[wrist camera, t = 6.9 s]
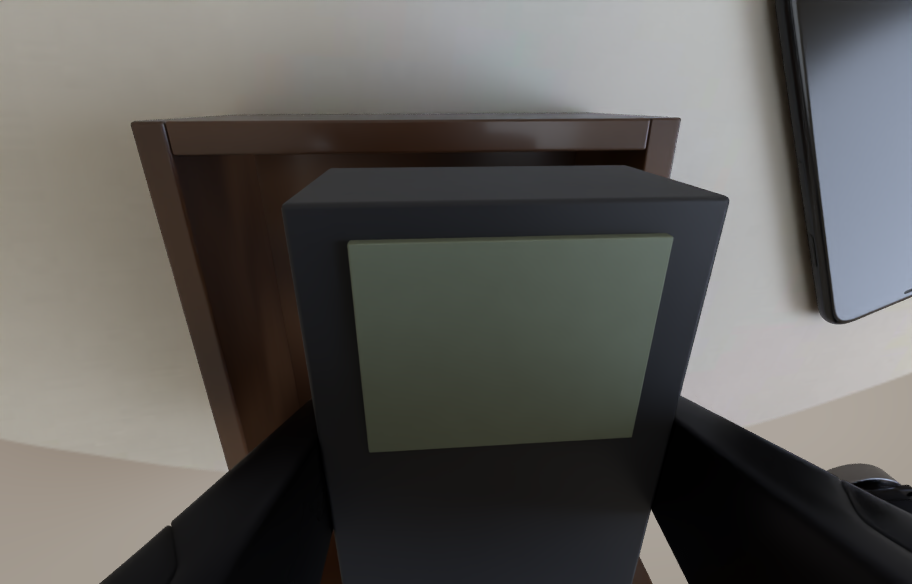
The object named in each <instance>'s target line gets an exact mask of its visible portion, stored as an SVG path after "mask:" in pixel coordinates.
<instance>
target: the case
mask: <svg viewBox="0 0 912 584" xmlns="http://www.w3.org/2000/svg"><path fill="white" fill-rule="evenodd" d="M680 121H681V119H680V118H676V117H658V116H640V115H622V114H604V113H466V114H277V115H222V116H206V117H190V118H174V119H158V120H142V121H134V122H132V123H131V128H132V131H133V135H134V138H135V142H136V145H137V149H138V152H139V156H140V159H141V163H142V166H143V170H144V173H145V177H146V180H147V184H148V187H149V191H150V195H151V198H152V202H153V205H154V209H155V212H156V216H157V219H158V223H159V226H160V230H161V233H162V237H163V240H164V244H165V247H166V251H167V254H168V258H169V262H170V265H171V269H172V272H173V276H174V279H175V283H176V286H177V290H178V293H179V297H180V300H181V304H182V307H183V311H184V314H185V318H186V321H187V325H188V328H189V332H190V336H191V339H192V343H193V346H194V350H195V353H196V357H197V360H198V364H199V367H200V371H201V374H202V378H203V381H204V385H205V388H206V392H207V395H208V399H209V402H210V406H211V410H212V413H213V417H214V420H215V424H216V427H217V431H218V434H219V438H220V441H221V445H222V448H223V452H224V455H225V459H226V462H227V466H228V469H229V470H231V469H232V468H233V467H234V466H235V465H236V464H237V463H239V462H240V461H241V460H242V459H243V458H244V457H245V456H246V455H248V454H249V453H250V452H251V451H252V450H253V449H254V448H255V447H257V446H258V445H259V444H260V443H261V442H262V441H263V440H265V439H266V438H267V437H268V436H269V435H270V434H271V433H272V432H274V431H275V430H276V429H277V428H278V427H279V426H280V425H282V424H283V423H284V422H285V421H286V420H287V419H288V418H289V417H291V416H292V415H293V414H294V413H295V412H296V411H297V410H298V409H300V408H301V407H302V406H303V405H304V404H305V403H306V402H308V401H309V400H310V399H311V398H312V395H311V389H310V382H309V376H308V370H307V364H306V358H305V352H304V346H303V339H302V333H301V327H300V321H299V315H298V309H297V302H296V296H295V290H294V284H293V278H292V272H291V266H290V259H289V253H288V247H287V241H286V235H285V229H284V223H283V216H282V210H281V208H282V204H284V203H285V202H286V201H288V200H289V199H290V198H292V197H293V196H294V195H296V194H297V193H298V192H300V191H301V190H302V189H304V188H305V187H306V186H307V185H309V184H310V183H311V182H313V181H314V180H315V179H317V178H318V177H319V176H321V175H322V174H323V173H325V172H326V171H327V170H329V169H331V168H402V167H499V166H596V165H626V166H629V167H632V168H636V169H639V170H642V171H645V172H649V173H652V174H655V175H659V176H662V177H665V178H668V179H670V174H671V169H672V164H673V158H674V153H675V148H676V142H677V137H678V132H679V127H680Z"/></svg>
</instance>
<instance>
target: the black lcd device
mask: <svg viewBox="0 0 912 584" xmlns="http://www.w3.org/2000/svg"><path fill="white" fill-rule="evenodd" d="M728 205H729V198H728V197H726V196H724V195H721V194H717V193H714V192H711V191H708V190H704V189H701V188H698V187H694V186H691V185H688V184H685V183H681V182H678V181H675V180H672V179H668V178H665V177H662V176H659V175H655V174H652V173H649V172H645V171H642V170H639V169H636V168H632V167H629V166H626V165H596V166H499V167H402V168H331V169H329V170H327V171H326V172H325V173H323V174H322V175H321V176H319V177H318V178H317V179H315V180H314V181H313V182H311V183H310V184H309V185H307V186H306V187H305V188H304V189H302V190H301V191H300V192H298V193H297V194H296V195H294V196H293V197H292V198H290V199H289V200H288V201H286V202H285V203H284V204H282V208H281V210H282V216H283V223H284V229H285V235H286V241H287V247H288V253H289V259H290V266H291V272H292V278H293V284H294V290H295V296H296V302H297V309H298V315H299V321H300V327H301V333H302V339H303V346H304V352H305V358H306V364H307V370H308V376H309V382H310V389H311V395H312V401H313V407H314V413H315V419H316V425H317V432H318V438H319V443H320V449H321V456H322V462H323V468H324V474H325V480H326V486H327V493H328V499H329V505H330V511H331V517H332V523H333V530H334V536H335V542H336V548H337V555H338V561H339V567H340V573H341V579H342V584H632V582H633V578H634V574H635V570H636V566H637V562H638V558H639V554H640V550H641V546H642V543H643V539H644V535H645V531H646V527H647V523H648V519H649V515H650V511H651V507H652V503H653V499H654V495H655V492H656V488H657V484H658V480H659V476H660V472H661V468H662V464H663V460H664V456H665V452H666V448H667V444H668V440H669V437H670V433H671V429H672V425H673V421H674V417H675V413H676V409H677V405H678V401H679V397H680V393H681V389H682V386H683V382H684V378H685V374H686V370H687V366H688V362H689V358H690V354H691V350H692V346H693V342H694V338H695V334H696V331H697V327H698V323H699V319H700V315H701V311H702V307H703V303H704V299H705V295H706V291H707V287H708V283H709V280H710V276H711V272H712V268H713V264H714V260H715V256H716V252H717V248H718V244H719V240H720V236H721V232H722V228H723V225H724V221H725V217H726V213H727V209H728Z"/></svg>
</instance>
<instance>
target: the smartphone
mask: <svg viewBox="0 0 912 584" xmlns="http://www.w3.org/2000/svg"><path fill="white" fill-rule="evenodd" d="M775 4H776V13H777V20H778V28H779V35H780V42H781V49H782V56H783V63H784V70H785V77H786V84H787V92H788V99H789V106H790V113H791V120H792V127H793V134H794V141H795V148H796V155H797V163H798V170H799V177H800V184H801V191H802V198H803V205H804V212H805V219H806V227H807V234H808V241H809V248H810V255H811V262H812V269H813V276H814V283H815V290H816V298H817V305H818V310H819V313H820V315H821V316H822V318H823V319H824V320H826V321H827V322H829V323H832V324H846V323H850V322H853V321H855V320H858V319H860V318H862V317H865V316H867V315H870V314H872V313H874V312H877V311H879V310H882V309H884V308H886V307H889V306H891V305H894V304H896V303H898V302H901V301H903V300H905V299H908V298H910V297H912V0H775Z"/></svg>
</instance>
